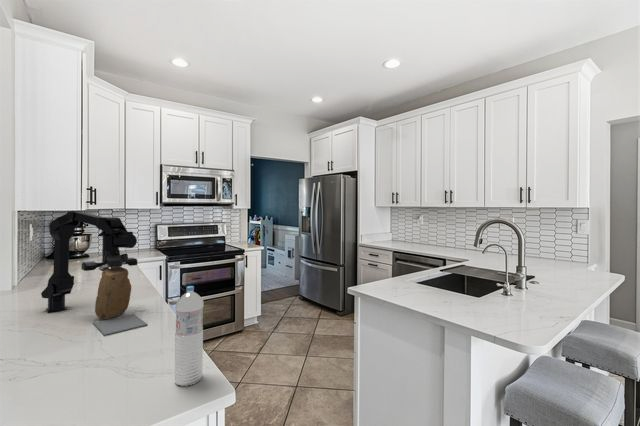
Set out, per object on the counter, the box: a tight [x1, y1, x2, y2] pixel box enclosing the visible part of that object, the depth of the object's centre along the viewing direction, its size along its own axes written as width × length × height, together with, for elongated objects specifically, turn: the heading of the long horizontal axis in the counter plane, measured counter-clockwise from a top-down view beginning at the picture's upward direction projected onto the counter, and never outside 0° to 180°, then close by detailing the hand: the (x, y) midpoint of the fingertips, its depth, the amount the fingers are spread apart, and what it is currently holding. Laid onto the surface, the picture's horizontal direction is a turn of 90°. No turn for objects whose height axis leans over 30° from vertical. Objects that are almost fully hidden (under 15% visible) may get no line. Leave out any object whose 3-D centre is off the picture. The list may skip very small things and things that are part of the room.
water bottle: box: [174, 285, 205, 387], centre depth 81 cm, size 7×7×25 cm
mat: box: [92, 313, 148, 337], centre depth 117 cm, size 16×14×1 cm
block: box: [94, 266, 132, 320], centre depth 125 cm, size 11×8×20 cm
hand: (110, 284), depth 127 cm, fingers closed
